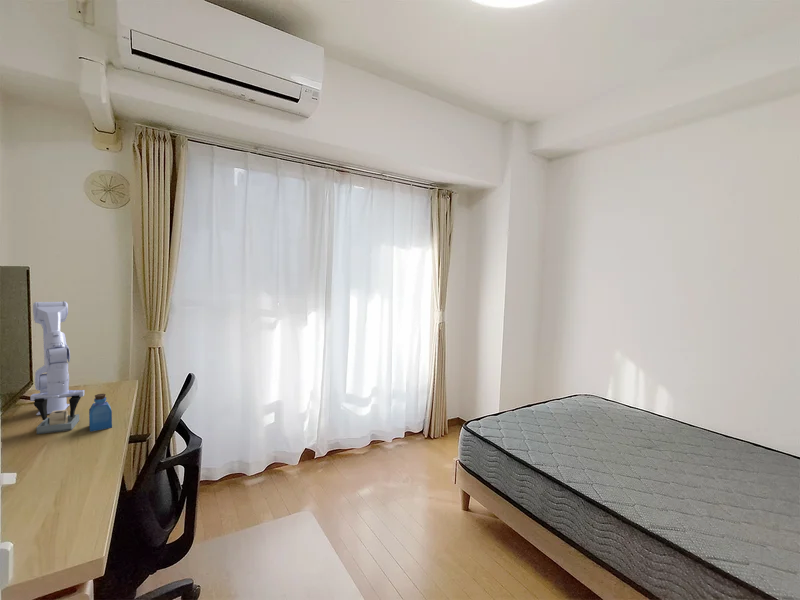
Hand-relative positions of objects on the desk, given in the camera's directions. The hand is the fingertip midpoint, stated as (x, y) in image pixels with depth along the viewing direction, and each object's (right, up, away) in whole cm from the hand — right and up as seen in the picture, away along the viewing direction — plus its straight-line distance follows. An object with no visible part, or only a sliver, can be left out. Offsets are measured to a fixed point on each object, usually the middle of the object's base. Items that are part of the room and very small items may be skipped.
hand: (58, 417), depth 137 cm
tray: (0, -4, 0) cm, 4 cm away
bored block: (0, -3, 0) cm, 3 cm away
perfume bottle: (+13, -4, +2) cm, 14 cm away
